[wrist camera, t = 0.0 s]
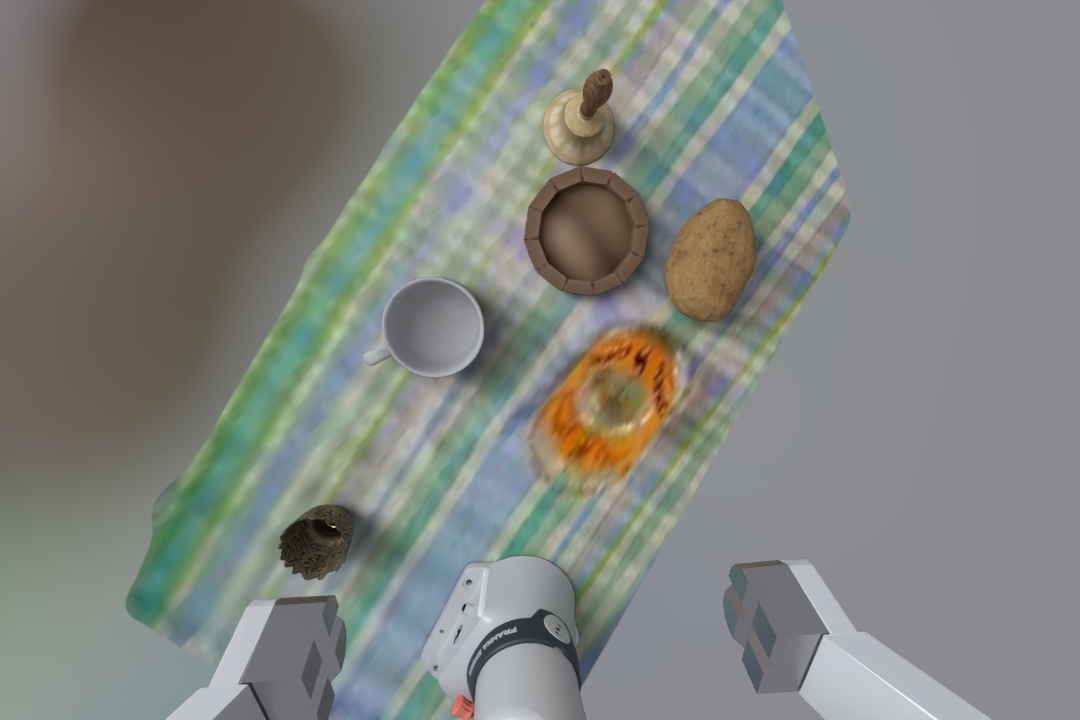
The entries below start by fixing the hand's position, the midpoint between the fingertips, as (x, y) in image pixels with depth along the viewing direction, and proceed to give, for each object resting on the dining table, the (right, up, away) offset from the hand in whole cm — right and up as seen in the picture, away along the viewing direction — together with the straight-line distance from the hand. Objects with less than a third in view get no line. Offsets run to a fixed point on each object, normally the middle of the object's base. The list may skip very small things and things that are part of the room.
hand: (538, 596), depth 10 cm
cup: (-26, -15, +54) cm, 62 cm away
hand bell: (+4, +32, +48) cm, 58 cm away
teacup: (-13, +9, +51) cm, 53 cm away
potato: (+19, +17, +52) cm, 58 cm away
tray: (+5, +20, +50) cm, 54 cm away
